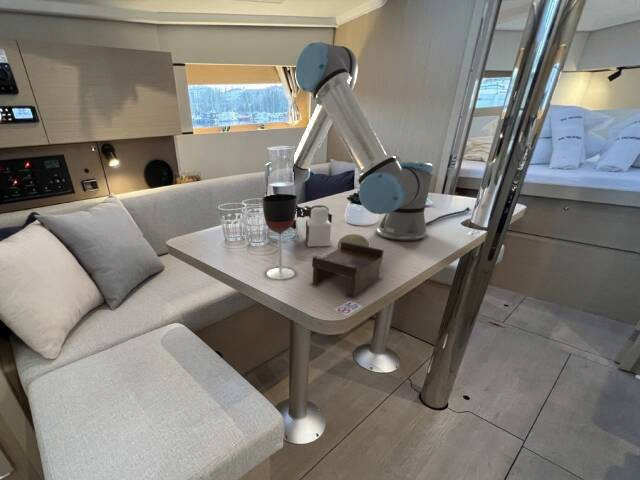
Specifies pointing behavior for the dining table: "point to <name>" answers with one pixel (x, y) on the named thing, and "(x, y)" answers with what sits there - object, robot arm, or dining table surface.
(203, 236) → the dining table surface
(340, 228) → the dining table surface
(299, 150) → the robot arm
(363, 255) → the stand
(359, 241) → the sea urchin shell
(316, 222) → the medicine bottle
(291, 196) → the wineglass
